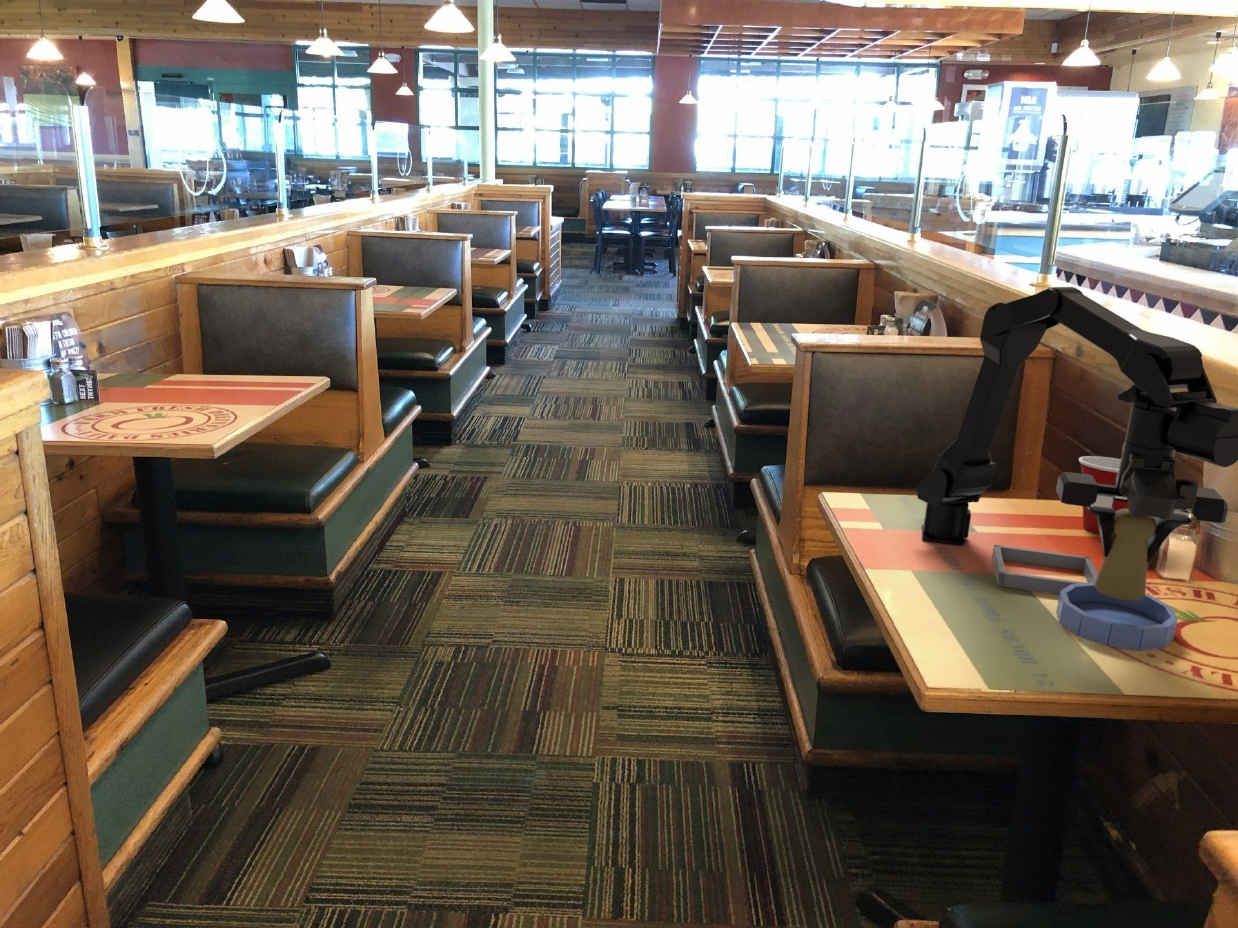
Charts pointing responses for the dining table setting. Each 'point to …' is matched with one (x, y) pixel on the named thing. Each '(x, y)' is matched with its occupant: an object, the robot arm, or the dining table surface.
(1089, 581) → the open gray frame
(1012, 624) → the dining table surface
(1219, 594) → the dining table surface
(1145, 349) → the robot arm
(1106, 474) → the plastic cup
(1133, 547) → the olive game pawn
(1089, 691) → the dining table surface
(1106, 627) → the bowl
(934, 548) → the dining table surface
